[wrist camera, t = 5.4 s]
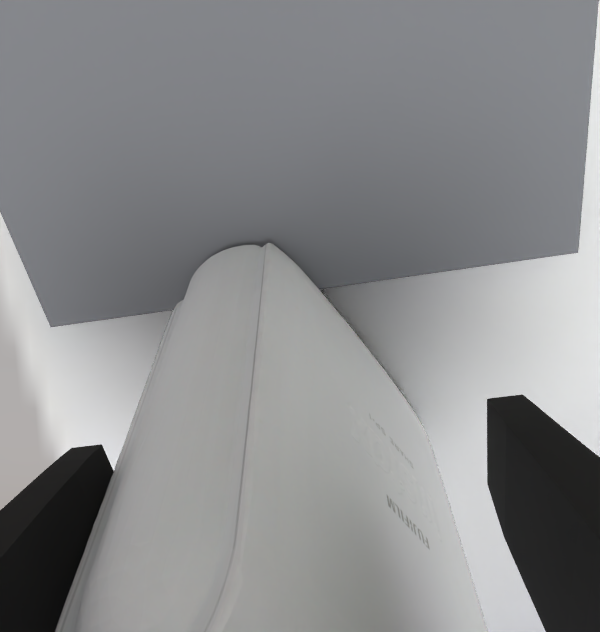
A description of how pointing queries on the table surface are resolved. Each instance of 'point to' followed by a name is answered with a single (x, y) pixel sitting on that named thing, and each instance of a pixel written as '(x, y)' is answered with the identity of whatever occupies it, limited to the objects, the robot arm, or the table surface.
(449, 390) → the table surface
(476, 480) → the table surface
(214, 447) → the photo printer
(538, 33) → the mat
